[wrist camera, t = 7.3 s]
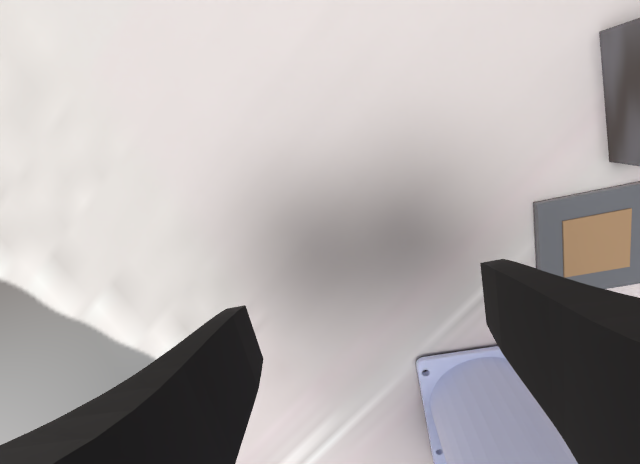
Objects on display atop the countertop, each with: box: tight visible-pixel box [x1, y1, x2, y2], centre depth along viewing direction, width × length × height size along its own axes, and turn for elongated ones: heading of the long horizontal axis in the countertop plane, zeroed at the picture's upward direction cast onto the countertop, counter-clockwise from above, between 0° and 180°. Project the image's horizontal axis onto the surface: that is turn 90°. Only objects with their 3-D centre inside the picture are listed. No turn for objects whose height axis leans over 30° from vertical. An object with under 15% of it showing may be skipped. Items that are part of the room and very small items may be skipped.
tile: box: [534, 182, 640, 289], centre depth 19 cm, size 6×6×1 cm
